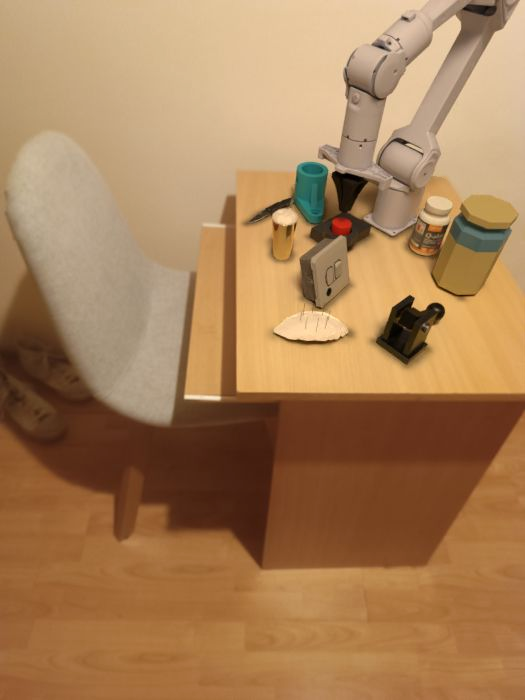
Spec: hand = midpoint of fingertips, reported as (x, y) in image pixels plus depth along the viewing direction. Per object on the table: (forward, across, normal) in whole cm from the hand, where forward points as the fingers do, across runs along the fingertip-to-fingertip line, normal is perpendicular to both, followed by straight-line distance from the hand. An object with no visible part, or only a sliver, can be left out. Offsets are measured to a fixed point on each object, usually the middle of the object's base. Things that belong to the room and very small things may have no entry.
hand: (344, 210), depth 84 cm
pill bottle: (+8, +11, +13) cm, 19 cm away
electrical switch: (+8, +7, -12) cm, 16 cm away
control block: (+8, -1, +2) cm, 8 cm away
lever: (+5, +24, -8) cm, 26 cm away
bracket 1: (+8, -13, +6) cm, 16 cm away
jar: (+8, +21, +9) cm, 24 cm away
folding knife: (+8, -16, -2) cm, 18 cm away
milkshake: (+8, -5, -10) cm, 14 cm away
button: (+4, 0, 0) cm, 4 cm away
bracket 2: (+8, +24, -12) cm, 28 cm away
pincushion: (+8, +13, -21) cm, 26 cm away
